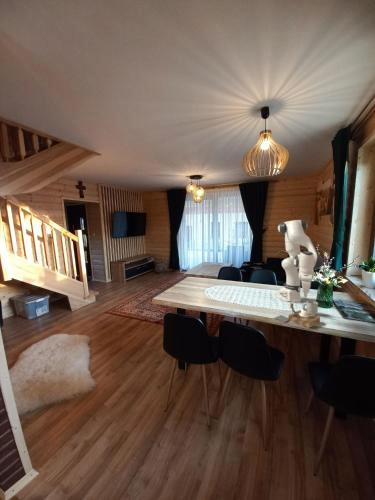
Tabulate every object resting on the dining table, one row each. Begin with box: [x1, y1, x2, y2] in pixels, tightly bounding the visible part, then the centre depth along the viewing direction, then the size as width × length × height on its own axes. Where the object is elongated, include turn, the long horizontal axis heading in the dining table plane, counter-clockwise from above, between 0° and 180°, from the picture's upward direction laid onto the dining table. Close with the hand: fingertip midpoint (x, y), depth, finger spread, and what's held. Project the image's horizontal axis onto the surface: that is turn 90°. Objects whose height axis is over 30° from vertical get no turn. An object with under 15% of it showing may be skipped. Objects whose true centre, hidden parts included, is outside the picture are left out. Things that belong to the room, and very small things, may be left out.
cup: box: [301, 300, 319, 316], centre depth 153 cm, size 7×10×9 cm
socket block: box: [287, 309, 321, 329], centre depth 140 cm, size 14×14×5 cm
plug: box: [299, 307, 310, 318], centre depth 140 cm, size 6×6×9 cm
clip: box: [289, 302, 297, 315], centre depth 145 cm, size 15×3×3 cm, turn 161°
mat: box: [273, 315, 291, 324], centre depth 144 cm, size 8×8×1 cm
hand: (305, 294), depth 138 cm, fingers open, 8 cm apart
